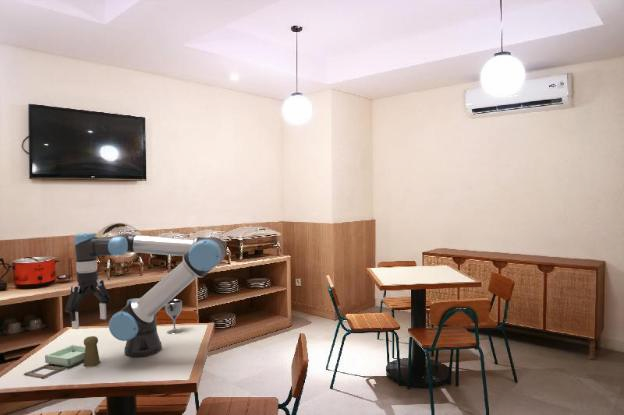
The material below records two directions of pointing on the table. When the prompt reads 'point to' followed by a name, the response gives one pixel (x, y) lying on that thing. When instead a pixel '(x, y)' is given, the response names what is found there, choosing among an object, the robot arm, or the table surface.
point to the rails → (48, 366)
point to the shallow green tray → (66, 356)
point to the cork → (91, 352)
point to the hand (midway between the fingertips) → (90, 323)
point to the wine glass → (174, 313)
